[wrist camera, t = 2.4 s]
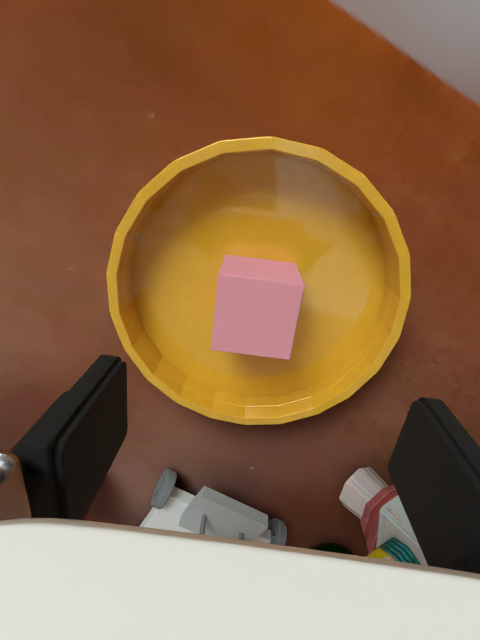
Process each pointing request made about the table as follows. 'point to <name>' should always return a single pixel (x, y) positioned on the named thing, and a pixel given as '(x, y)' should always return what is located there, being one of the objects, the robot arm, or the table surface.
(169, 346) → the mustard bowl
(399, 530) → the toy camera
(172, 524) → the toy car
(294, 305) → the pink block
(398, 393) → the table surface
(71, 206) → the table surface
